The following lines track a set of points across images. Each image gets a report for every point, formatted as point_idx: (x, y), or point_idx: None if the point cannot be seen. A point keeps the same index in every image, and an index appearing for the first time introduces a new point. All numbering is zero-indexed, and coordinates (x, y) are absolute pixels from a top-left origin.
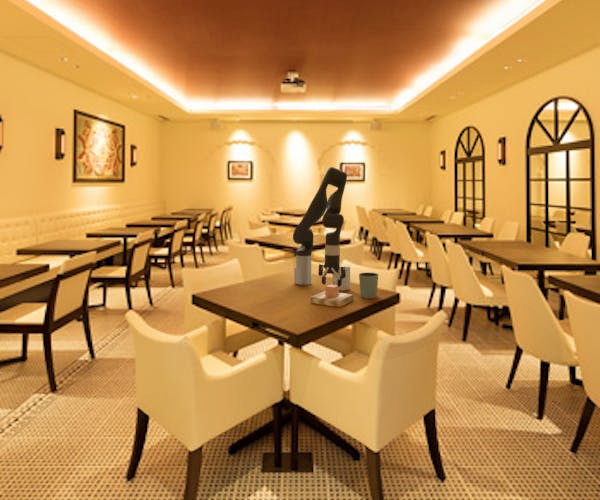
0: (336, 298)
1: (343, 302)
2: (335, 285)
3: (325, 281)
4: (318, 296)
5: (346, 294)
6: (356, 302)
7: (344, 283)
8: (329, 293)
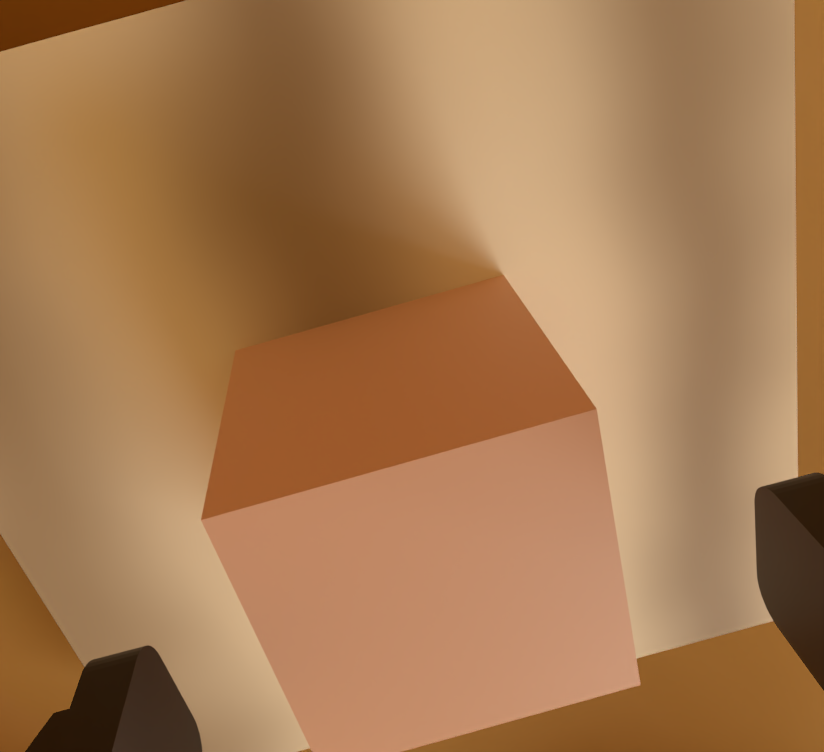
0: (93, 309)
1: None
2: (420, 722)
3: (813, 656)
4: (618, 82)
5: (259, 708)
6: (17, 643)
7: None
8: (387, 347)
